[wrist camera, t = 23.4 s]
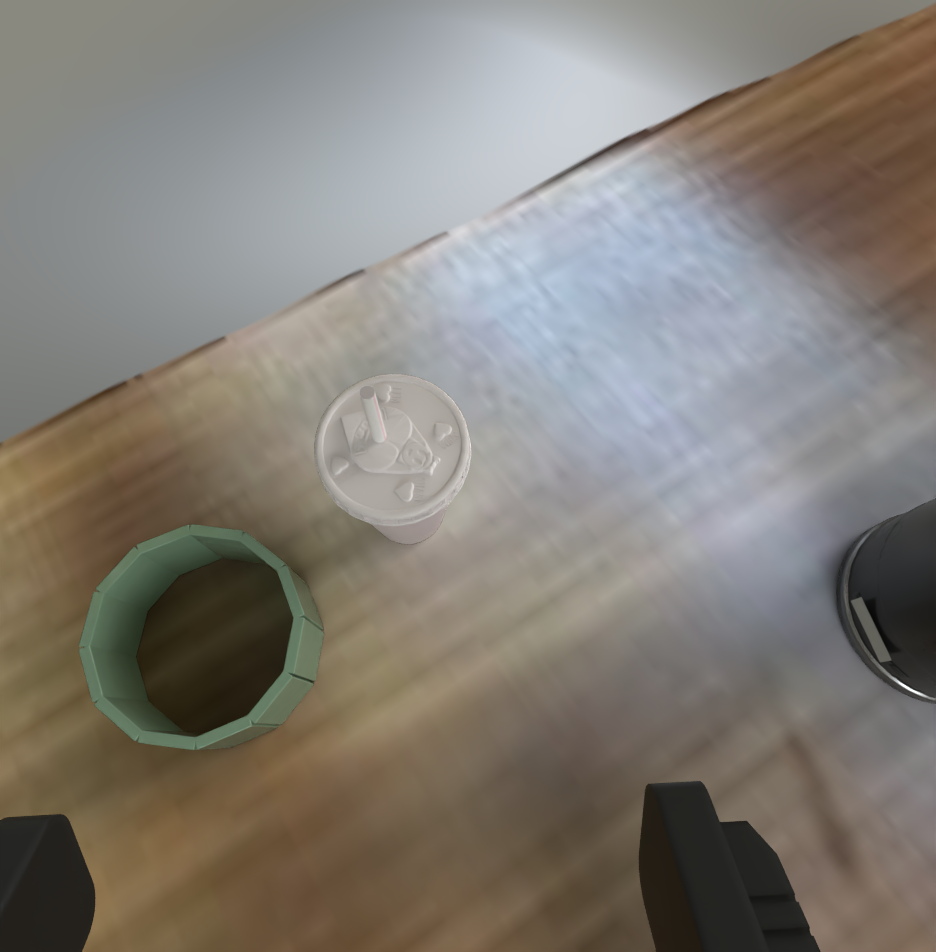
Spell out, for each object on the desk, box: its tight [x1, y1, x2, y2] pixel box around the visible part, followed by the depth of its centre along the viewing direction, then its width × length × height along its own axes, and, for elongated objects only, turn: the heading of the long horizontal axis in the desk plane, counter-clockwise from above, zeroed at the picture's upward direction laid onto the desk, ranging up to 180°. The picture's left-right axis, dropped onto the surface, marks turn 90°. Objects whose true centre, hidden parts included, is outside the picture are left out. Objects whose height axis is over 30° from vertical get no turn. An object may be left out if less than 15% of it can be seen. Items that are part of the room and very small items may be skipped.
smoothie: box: [314, 374, 471, 544], centre depth 34 cm, size 6×6×14 cm
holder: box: [79, 524, 324, 750], centre depth 36 cm, size 9×9×5 cm
